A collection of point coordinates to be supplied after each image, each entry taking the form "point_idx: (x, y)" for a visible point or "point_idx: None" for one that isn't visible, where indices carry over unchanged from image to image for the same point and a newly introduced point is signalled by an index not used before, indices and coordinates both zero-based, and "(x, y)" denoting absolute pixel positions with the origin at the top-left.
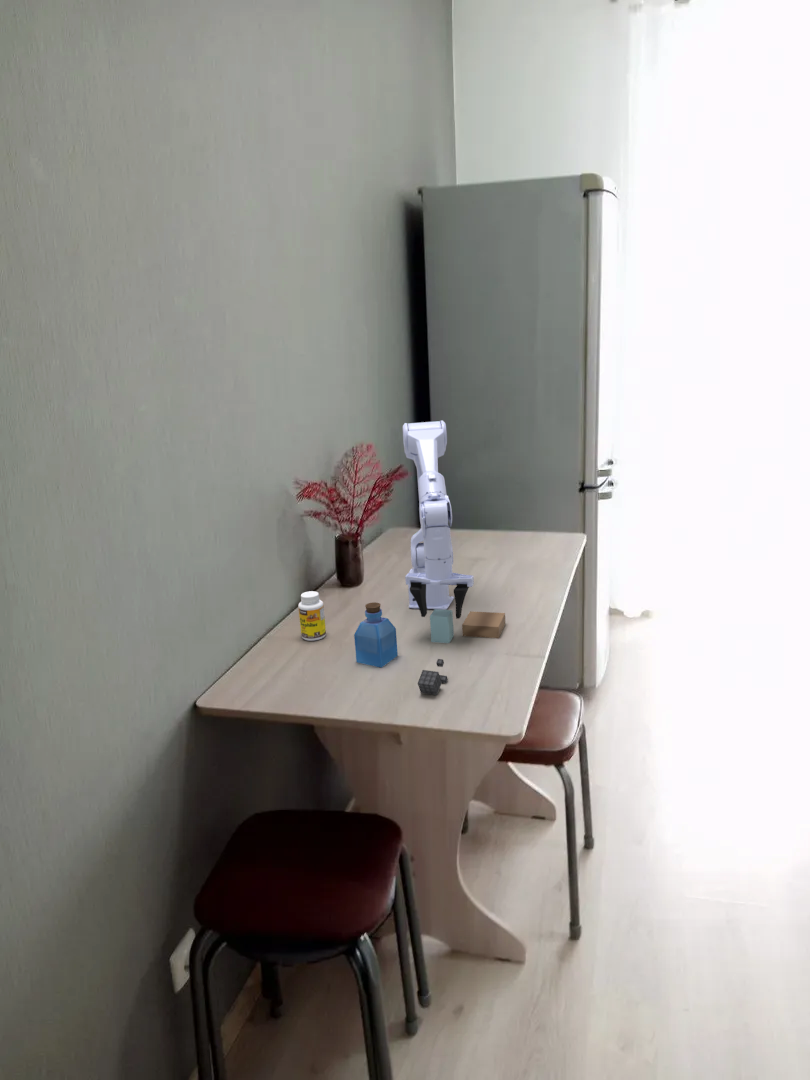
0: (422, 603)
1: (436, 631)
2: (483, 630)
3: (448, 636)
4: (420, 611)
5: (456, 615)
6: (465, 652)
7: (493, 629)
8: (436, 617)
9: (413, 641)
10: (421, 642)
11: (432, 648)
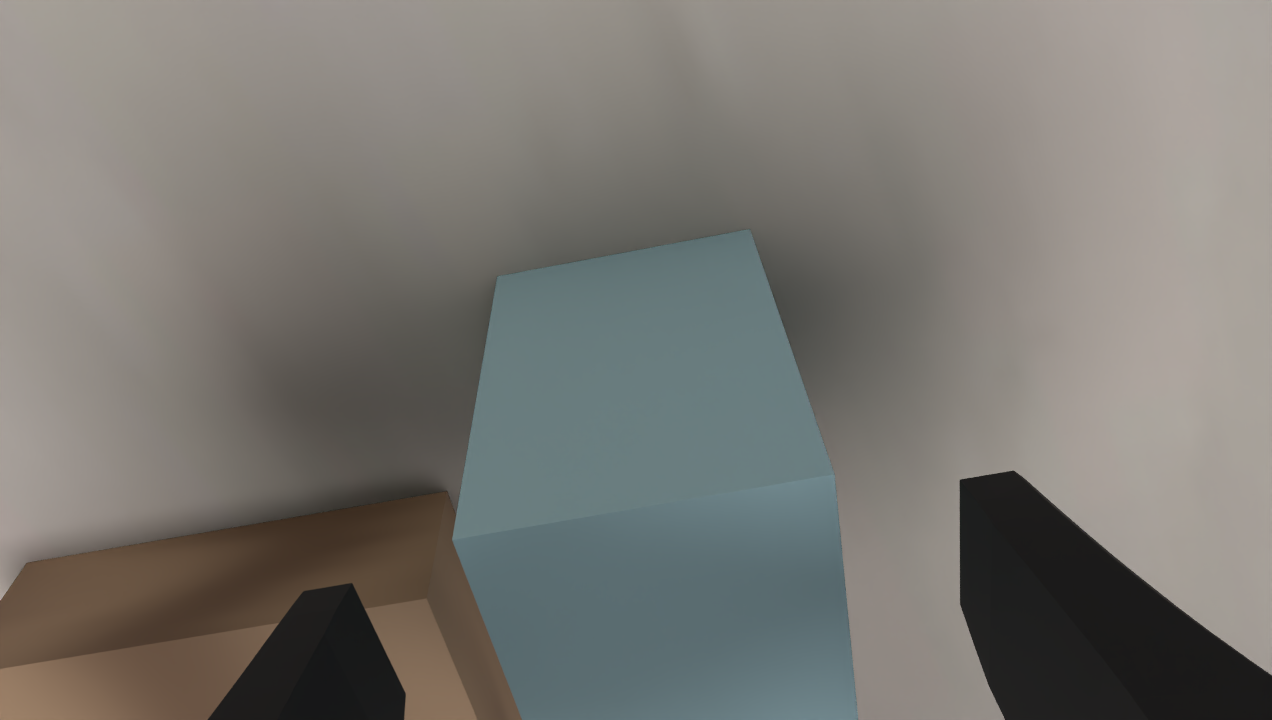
0: (1111, 704)
1: (681, 325)
2: (166, 599)
3: (496, 322)
4: (1081, 532)
5: (313, 624)
6: (101, 68)
7: (30, 636)
8: (689, 483)
9: (1008, 163)
10: (882, 170)
11: (643, 31)
